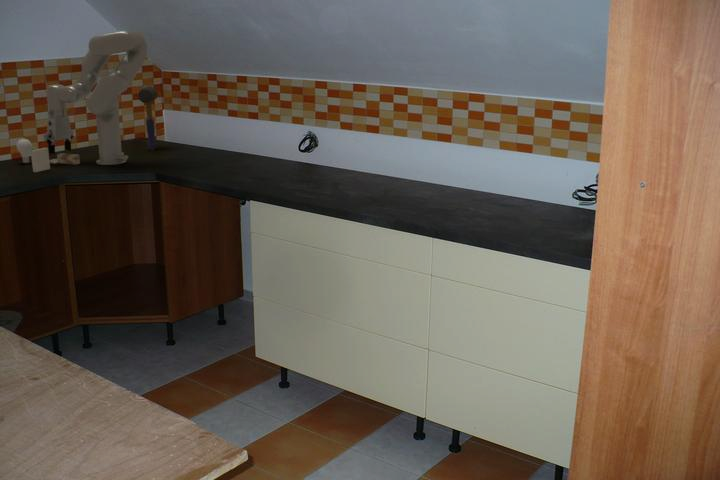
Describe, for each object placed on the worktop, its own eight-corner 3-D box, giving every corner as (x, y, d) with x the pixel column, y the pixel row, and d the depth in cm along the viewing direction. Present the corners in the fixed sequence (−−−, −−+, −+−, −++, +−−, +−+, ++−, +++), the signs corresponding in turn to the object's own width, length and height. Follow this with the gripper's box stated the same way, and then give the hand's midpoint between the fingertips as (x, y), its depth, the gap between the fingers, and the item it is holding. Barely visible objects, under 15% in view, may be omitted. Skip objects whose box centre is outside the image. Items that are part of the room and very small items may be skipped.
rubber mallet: (147, 147, 399) (142, 85, 391) (162, 147, 399) (158, 85, 391) (141, 151, 387) (136, 88, 379) (157, 151, 387) (152, 87, 379)
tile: (50, 168, 348) (47, 147, 346) (36, 172, 341) (33, 151, 339) (47, 168, 349) (44, 147, 347) (32, 171, 342) (30, 150, 340)
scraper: (82, 163, 361) (81, 154, 360) (72, 165, 356) (71, 156, 355) (55, 160, 367) (54, 151, 366) (45, 162, 362) (44, 153, 361)
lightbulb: (27, 161, 364) (24, 137, 361) (37, 162, 361) (34, 138, 358) (15, 163, 359) (12, 139, 356) (24, 165, 356) (21, 140, 353)
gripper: (49, 116, 347) (52, 155, 351) (78, 112, 362) (80, 150, 367) (36, 114, 349) (38, 154, 354) (65, 110, 365) (67, 148, 369)
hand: (60, 152), depth 360 cm, fingers open, 9 cm apart
